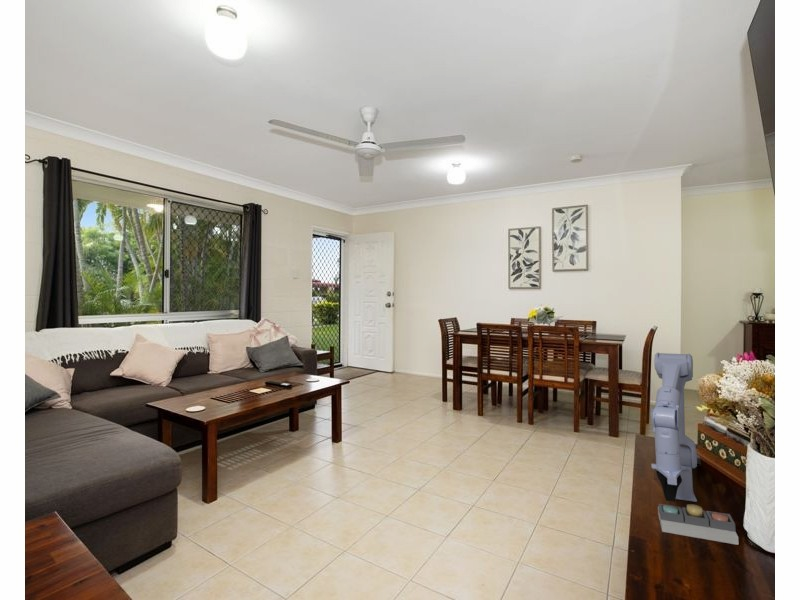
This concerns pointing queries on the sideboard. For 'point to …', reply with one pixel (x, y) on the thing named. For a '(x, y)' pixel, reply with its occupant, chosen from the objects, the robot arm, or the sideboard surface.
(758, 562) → the sideboard surface
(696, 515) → the ochre button
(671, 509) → the teal button
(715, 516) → the brick button
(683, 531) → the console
